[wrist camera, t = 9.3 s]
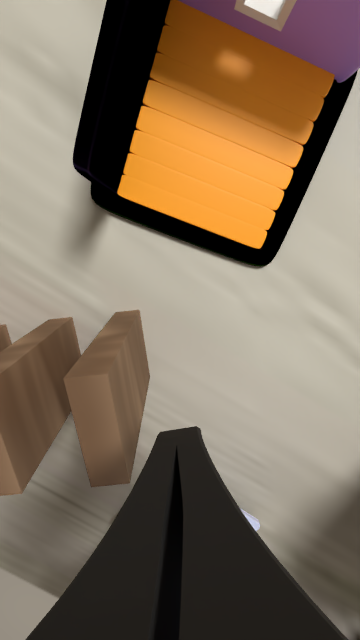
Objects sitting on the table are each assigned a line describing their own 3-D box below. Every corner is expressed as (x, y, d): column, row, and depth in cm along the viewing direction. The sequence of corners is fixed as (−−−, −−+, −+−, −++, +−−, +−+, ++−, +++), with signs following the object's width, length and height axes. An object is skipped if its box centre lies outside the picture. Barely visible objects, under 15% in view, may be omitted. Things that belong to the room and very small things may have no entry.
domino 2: (139, 309, 19) (107, 374, 10) (149, 377, 20) (129, 483, 12) (115, 312, 19) (63, 378, 10) (127, 379, 20) (91, 486, 12)
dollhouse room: (149, -43, 14) (123, -294, 7) (361, 60, 15) (503, -74, 9) (87, 204, 17) (30, 184, 10) (267, 271, 18) (317, 292, 12)
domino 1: (72, 317, 19) (-16, 386, 10) (87, 383, 20) (21, 493, 12) (48, 319, 19) (-59, 391, 10) (65, 385, 20) (-17, 497, 12)
